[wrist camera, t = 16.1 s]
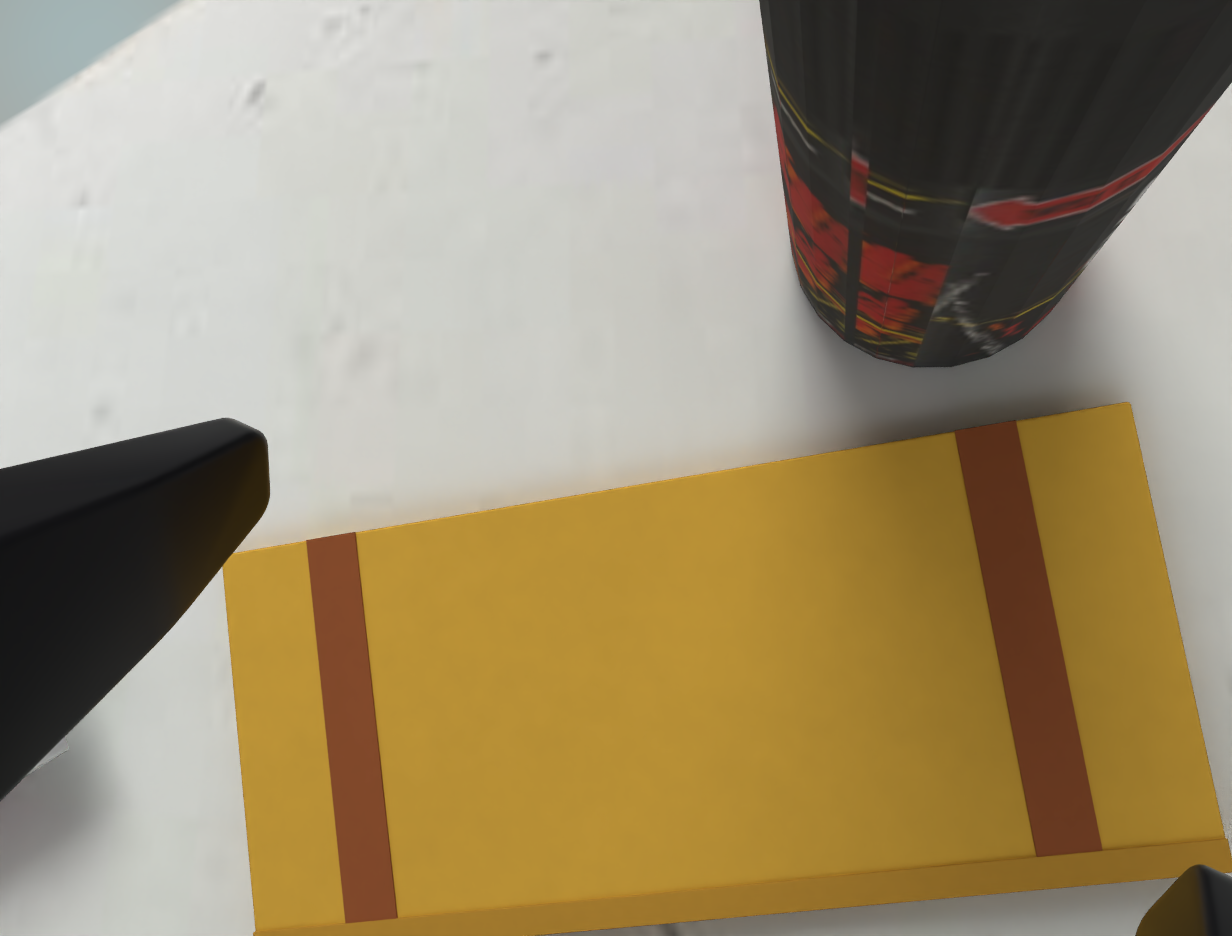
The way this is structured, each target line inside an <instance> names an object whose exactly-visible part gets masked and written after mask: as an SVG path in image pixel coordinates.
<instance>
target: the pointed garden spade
mask: <svg viewBox="0 0 1232 936" xmlns="http://www.w3.org/2000/svg"><path fill="white" fill-rule="evenodd" d="M67 750H69V746H68V743H67V740H66V738H65V737H64V738H63V739H62V740H61V741H60V742H59V743H58V744H57V745H56V746H55V747H54V748H53V749H52V750H51V751H50V752H49V753H48V754H47V755H46V756H45V757H44V758H43V759H42V760H41V761H40V762H39V763H38V764H37V765H36V766H35V767H34V768H33V769H32V770H31V771H30V772H29V773H28V774H27V775H29V774H31V773H32V772H34V771H35V770H37V769H39V768H40V767H42V766H43V765H45V764H47V763H48V762H50V761H51V760H53V759H54V758H56V757H58V756H59V755H61V754H62V753H64V752H66V751H67ZM27 775H26V776H27ZM26 776H25V777H26Z"/></svg>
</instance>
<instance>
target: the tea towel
mask: <svg viewBox="0 0 1232 936" xmlns="http://www.w3.org/2000/svg"><path fill="white" fill-rule="evenodd" d="M223 577H224V588H225V599H226V610H227V621H228V632H229V643H230V654H231V665H232V676H233V687H234V698H235V709H236V720H237V731H238V742H239V753H240V764H241V775H242V786H243V797H244V807H245V818H246V829H247V840H248V851H249V862H250V873H251V884H252V895H253V906H254V917H255V928H256V931H255V932H254V933H253V936H536V935H547V934H558V933H569V932H580V931H591V930H602V929H613V928H624V927H635V926H646V925H657V924H668V923H679V922H691V921H702V920H713V919H724V918H735V917H746V916H757V915H768V914H779V913H790V912H801V911H812V910H823V909H834V908H845V907H856V906H867V905H878V904H889V903H900V902H911V901H922V900H933V899H944V898H955V897H966V896H977V895H988V894H999V893H1011V892H1022V891H1033V890H1044V889H1055V888H1066V887H1077V886H1088V885H1099V884H1110V883H1121V882H1132V881H1143V880H1154V879H1165V878H1176V877H1180V876H1181V875H1182V874H1183V873H1184V872H1185V871H1186V870H1187V869H1188V868H1190V867H1191V866H1194V865H1197V864H1202V865H1206V866H1209V867H1211V868H1213V869H1215V870H1217V871H1219V872H1222V873H1231V872H1232V857H1231V853H1230V848H1229V843H1228V839H1226V838H1225V834H1224V830H1223V825H1222V820H1221V816H1220V811H1219V807H1218V802H1217V798H1216V793H1215V788H1214V784H1213V779H1212V775H1211V770H1210V765H1209V761H1208V756H1207V752H1206V747H1205V742H1204V738H1203V733H1202V729H1201V724H1200V720H1199V715H1198V710H1197V706H1196V701H1195V697H1194V692H1193V687H1192V683H1191V678H1190V674H1189V669H1188V664H1187V660H1186V655H1185V651H1184V646H1183V642H1182V637H1181V632H1180V628H1179V623H1178V619H1177V614H1176V609H1175V605H1174V600H1173V596H1172V591H1171V587H1170V582H1169V577H1168V573H1167V568H1166V564H1165V559H1164V554H1163V550H1162V545H1161V541H1160V536H1159V531H1158V527H1157V522H1156V518H1155V513H1154V509H1153V504H1152V499H1151V495H1150V490H1149V486H1148V481H1147V476H1146V472H1145V467H1144V463H1143V458H1142V453H1141V449H1140V444H1139V440H1138V435H1137V431H1136V426H1135V421H1134V417H1133V412H1132V408H1131V404H1130V403H1129V402H1124V403H1118V404H1112V405H1107V406H1101V407H1095V408H1089V409H1083V410H1077V411H1071V412H1065V413H1059V414H1053V415H1047V416H1041V417H1036V418H1030V419H1024V420H1018V421H1016V420H1014V421H1008V422H1002V423H996V424H990V425H984V426H979V427H973V428H967V429H961V430H955V431H953V432H947V433H941V434H935V435H929V436H923V437H917V438H911V439H906V440H900V441H894V442H888V443H882V444H876V445H870V446H864V447H858V448H852V449H846V450H841V451H835V452H829V453H823V454H817V455H811V456H805V457H799V458H793V459H787V460H781V461H776V462H770V463H764V464H758V465H752V466H746V467H740V468H734V469H728V470H722V471H716V472H710V473H705V474H699V475H693V476H687V477H681V478H675V479H669V480H663V481H657V482H651V483H645V484H640V485H634V486H628V487H622V488H616V489H610V490H604V491H598V492H592V493H586V494H580V495H575V496H569V497H563V498H557V499H551V500H545V501H539V502H533V503H527V504H521V505H515V506H510V507H504V508H498V509H492V510H486V511H480V512H474V513H468V514H462V515H456V516H450V517H445V518H439V519H433V520H427V521H421V522H415V523H409V524H403V525H397V526H391V527H385V528H379V529H374V530H368V531H362V532H352V533H346V534H341V535H335V536H329V537H323V538H317V539H311V540H306V541H303V542H297V543H291V544H285V545H279V546H273V547H267V548H261V549H255V550H249V551H244V552H238V553H232V555H231V556H230V557H229V558H228V560H227V561H226V562H225V563H224V565H223Z"/></svg>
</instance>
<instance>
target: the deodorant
mask: <svg viewBox="0 0 1232 936" xmlns="http://www.w3.org/2000/svg"><path fill="white" fill-rule="evenodd" d="M759 2H760V9H761V17H762V25H763V33H764V40H765V48H766V56H767V64H768V72H769V79H770V87H771V95H772V103H773V110H774V118H775V126H776V134H777V142H778V149H779V157H780V165H781V173H782V180H783V188H784V196H785V204H786V212H787V219H788V227H789V235H790V243H791V250H792V256H793V259H794V263H795V267H796V271H797V274H798V278H799V282H800V286H801V288H802V289H803V291H804V293H805V294H806V296H807V298H808V299H809V301H810V303H811V304H812V306H813V308H814V309H815V311H816V313H817V314H818V316H819V317H820V318H821V319H822V320H823V321H824V322H825V323H826V324H827V325H828V326H829V327H830V328H831V329H833V330H834V331H835V332H836V333H837V334H838V335H839V336H840V337H841V338H842V339H843V340H844V341H846V342H847V343H849V344H851V345H853V346H855V347H857V348H858V349H860V350H862V351H864V352H866V353H868V354H870V355H871V356H873V357H875V358H878V359H882V360H886V361H890V362H894V363H898V364H902V365H906V366H910V367H952V366H956V365H960V364H964V363H968V362H972V361H975V360H979V359H983V358H987V357H990V356H991V355H993V354H995V353H997V352H999V351H1000V350H1002V349H1004V348H1006V347H1008V346H1009V345H1011V344H1013V343H1015V342H1017V341H1018V340H1020V339H1022V338H1023V337H1024V336H1025V335H1027V334H1028V333H1029V332H1030V331H1031V330H1032V329H1033V328H1034V327H1035V326H1036V325H1037V324H1038V323H1039V322H1040V321H1041V320H1042V319H1044V318H1045V317H1046V316H1047V315H1048V314H1049V313H1050V312H1051V311H1052V309H1053V308H1054V307H1055V306H1056V304H1057V303H1058V302H1059V301H1060V299H1061V298H1062V297H1063V295H1064V294H1065V293H1066V292H1067V290H1068V289H1069V288H1070V287H1071V285H1072V284H1073V283H1074V282H1075V280H1076V279H1077V278H1078V276H1079V275H1080V274H1081V273H1082V271H1083V270H1084V269H1085V268H1086V266H1087V265H1088V264H1089V263H1090V261H1091V260H1092V259H1093V257H1094V256H1095V255H1096V254H1097V252H1098V251H1099V250H1100V249H1101V247H1102V246H1103V245H1104V243H1105V242H1106V241H1107V240H1108V238H1109V237H1110V236H1111V235H1112V233H1113V232H1114V231H1115V230H1116V228H1117V227H1118V226H1119V224H1120V223H1121V222H1122V221H1123V219H1124V218H1125V217H1126V216H1127V214H1128V213H1129V212H1130V211H1131V209H1132V208H1133V207H1134V205H1135V204H1136V203H1137V202H1138V200H1139V199H1140V198H1141V197H1142V195H1143V194H1144V193H1145V192H1146V190H1147V189H1148V188H1149V186H1150V185H1151V184H1152V183H1153V181H1154V180H1155V179H1156V178H1157V176H1158V175H1159V174H1160V173H1161V171H1162V170H1163V169H1164V167H1165V166H1166V165H1167V164H1168V162H1169V161H1170V160H1171V159H1172V157H1173V156H1174V155H1175V154H1176V152H1177V151H1178V150H1179V148H1180V147H1181V146H1182V145H1183V143H1184V142H1185V141H1186V140H1187V138H1188V137H1189V136H1190V134H1191V133H1192V132H1193V131H1194V129H1195V128H1196V127H1197V126H1198V124H1199V123H1200V122H1201V121H1202V119H1203V118H1204V117H1205V115H1206V114H1207V113H1208V112H1209V110H1210V109H1211V108H1212V107H1213V105H1214V104H1215V103H1216V102H1217V100H1218V99H1219V98H1220V96H1221V95H1222V94H1223V93H1224V91H1225V90H1226V89H1227V88H1228V86H1229V85H1230V84H1231V83H1232V0H759Z"/></svg>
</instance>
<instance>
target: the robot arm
mask: <svg viewBox="0 0 1232 936" xmlns="http://www.w3.org/2000/svg"><path fill="white" fill-rule="evenodd" d="M269 498H270V480H269V459H268V444H267V440H266V438H265V436H264V434H263V433H261V432H260V431H259V430H257V429H254V428H252V427H250V426H248V425H246V424H244V423H241V422H239V421H237V420H235V419H231V418H221V419H216V420H211V421H207V422H203V423H198V424H194V425H190V426H185V427H181V428H177V429H172V430H168V431H164V432H159V433H155V434H151V435H146V436H142V437H137V438H133V439H129V440H124V441H120V442H116V443H111V444H107V445H103V446H98V447H94V448H90V449H85V450H81V451H77V452H72V453H68V454H63V455H59V456H55V457H50V458H46V459H42V460H37V461H33V462H29V463H24V464H20V465H16V466H11V467H7V468H3V469H0V801H1V800H2V799H3V798H4V797H5V796H6V795H7V794H8V793H9V792H10V791H11V790H12V789H13V788H14V787H15V786H16V785H17V784H18V783H19V782H20V781H21V780H22V779H23V778H24V777H25V776H26V775H27V774H28V773H29V772H30V771H31V770H32V769H33V768H34V767H35V766H36V765H37V764H38V763H39V762H40V761H41V760H42V759H43V758H44V757H45V756H46V755H47V754H48V753H49V752H50V751H51V750H52V749H53V748H54V747H55V746H56V745H57V744H58V743H59V742H60V741H61V740H62V739H63V738H64V737H65V736H66V735H67V734H68V733H69V732H70V731H71V730H72V729H73V728H74V727H75V726H76V725H77V724H78V723H79V722H80V721H81V720H82V719H83V718H84V717H85V716H86V715H87V714H88V713H89V712H90V711H91V710H92V709H93V708H94V707H95V706H96V705H97V704H98V703H99V702H100V701H101V700H102V699H103V698H104V697H105V695H106V694H107V693H108V692H109V691H110V690H111V689H112V688H113V687H114V686H115V685H116V684H117V683H118V682H119V681H120V680H121V679H122V678H123V677H124V676H125V675H126V674H127V673H128V672H129V671H130V670H131V669H132V668H133V667H134V666H135V665H136V664H137V663H138V662H139V661H140V660H141V659H142V658H143V657H144V656H145V655H146V654H147V653H148V652H149V651H150V650H151V649H152V648H153V647H154V646H155V645H156V644H157V643H158V642H159V641H160V640H161V639H162V638H163V637H164V636H165V634H166V633H167V632H168V631H169V630H170V629H171V628H172V627H173V626H174V625H175V624H176V622H177V621H178V620H179V619H180V618H181V617H182V615H183V614H184V613H185V612H186V611H187V609H188V608H189V607H190V606H191V605H192V603H193V602H194V601H195V600H196V598H197V597H198V596H199V595H200V593H201V592H202V591H203V590H204V588H205V587H206V586H207V585H208V583H209V582H210V581H211V580H212V578H213V577H214V576H215V575H216V573H217V572H218V571H219V570H220V568H221V567H222V566H223V565H224V563H225V562H226V561H227V560H228V558H229V557H230V556H231V555H232V553H233V552H234V551H235V550H236V549H237V547H238V546H239V545H240V544H241V542H242V541H243V540H244V539H245V537H246V536H247V535H248V534H249V532H250V531H251V530H252V529H253V527H254V526H255V525H256V524H257V522H258V521H259V520H260V518H261V517H262V516H263V514H264V512H265V510H266V508H267V505H268V502H269ZM1135 936H1232V877H1230V876H1228V875H1226V874H1224V873H1222V872H1219V871H1217V870H1215V869H1213V868H1211V867H1209V866H1206V865H1202V864H1197V865H1194V866H1191V867H1190V868H1188V869H1187V870H1186V871H1185V872H1184V873H1183V874H1182V875H1181V876H1180V877H1179V878H1178V879H1177V880H1176V881H1175V882H1174V884H1173V885H1172V886H1171V887H1170V888H1169V889H1168V890H1167V891H1166V892H1165V893H1164V894H1163V895H1162V896H1161V897H1160V898H1159V900H1158V901H1157V902H1156V903H1155V904H1154V905H1153V906H1152V907H1151V908H1150V909H1149V910H1148V912H1147V913H1146V914H1145V916H1144V917H1143V919H1142V920H1141V923H1140V925H1139V927H1138V929H1137V932H1136V935H1135Z"/></svg>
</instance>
